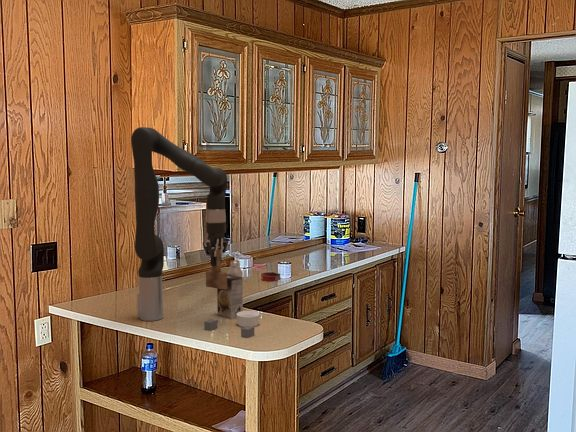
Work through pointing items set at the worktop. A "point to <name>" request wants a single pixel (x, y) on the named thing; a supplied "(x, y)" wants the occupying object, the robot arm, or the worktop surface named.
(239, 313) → the ramekin
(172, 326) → the worktop surface
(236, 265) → the plastic bottle
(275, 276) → the red and clear container
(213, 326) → the slate blocks
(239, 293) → the coffee box
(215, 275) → the stepped wooden block
